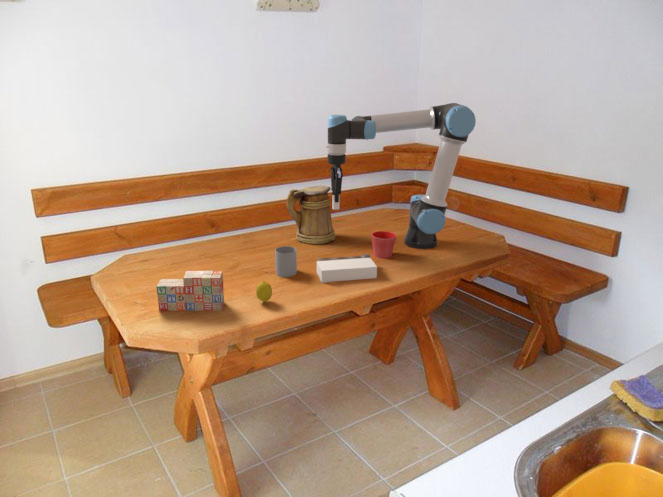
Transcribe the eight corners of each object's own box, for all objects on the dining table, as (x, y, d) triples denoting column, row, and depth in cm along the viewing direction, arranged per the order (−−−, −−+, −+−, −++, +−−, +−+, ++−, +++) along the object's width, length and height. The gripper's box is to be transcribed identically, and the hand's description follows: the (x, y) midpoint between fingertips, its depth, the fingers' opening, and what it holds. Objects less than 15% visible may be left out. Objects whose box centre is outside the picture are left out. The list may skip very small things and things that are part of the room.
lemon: (257, 299, 191) (256, 278, 188) (272, 298, 191) (271, 278, 188) (256, 305, 186) (255, 284, 183) (272, 305, 186) (271, 284, 183)
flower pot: (397, 253, 237) (398, 232, 233) (391, 261, 227) (393, 239, 224) (374, 250, 240) (375, 229, 237) (367, 258, 230) (368, 236, 227)
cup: (293, 278, 209) (293, 254, 205) (273, 276, 210) (272, 252, 207) (298, 270, 217) (298, 247, 213) (279, 268, 218) (278, 245, 215)
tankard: (342, 241, 250) (342, 189, 241) (295, 248, 240) (294, 194, 232) (325, 230, 265) (325, 181, 257) (281, 237, 256) (279, 185, 247)
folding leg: (368, 264, 223) (369, 253, 221) (371, 268, 219) (371, 257, 217) (317, 267, 219) (317, 256, 217) (318, 270, 215) (318, 259, 214)
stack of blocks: (158, 311, 181) (154, 277, 177) (163, 303, 187) (159, 270, 183) (222, 310, 182) (220, 277, 178) (224, 302, 188) (222, 270, 184)
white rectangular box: (369, 269, 218) (370, 257, 217) (376, 278, 209) (377, 266, 208) (316, 272, 214) (316, 261, 212) (321, 282, 205) (321, 270, 203)
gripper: (324, 151, 225) (324, 205, 233) (331, 156, 213) (330, 213, 221) (341, 150, 227) (341, 204, 235) (349, 156, 215) (348, 212, 223)
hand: (335, 208), depth 228 cm, fingers closed
